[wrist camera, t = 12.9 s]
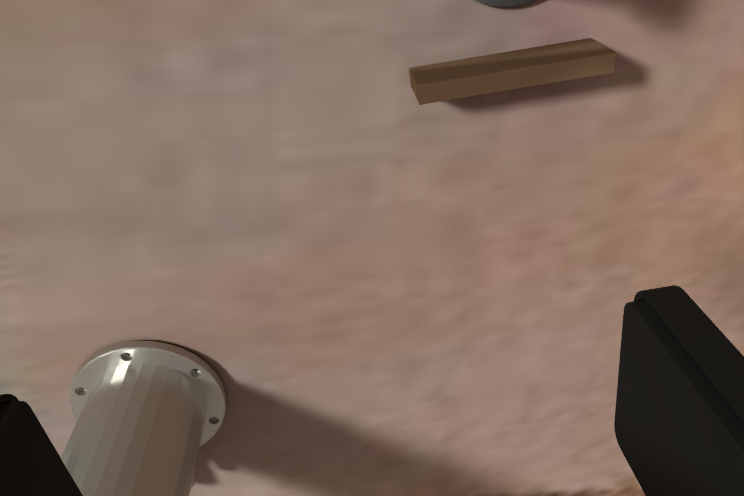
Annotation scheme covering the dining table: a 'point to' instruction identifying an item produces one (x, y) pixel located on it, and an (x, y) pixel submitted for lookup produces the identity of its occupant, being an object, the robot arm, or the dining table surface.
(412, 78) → the wooden plank
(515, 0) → the grey flat disc
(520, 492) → the dining table surface
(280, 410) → the dining table surface
